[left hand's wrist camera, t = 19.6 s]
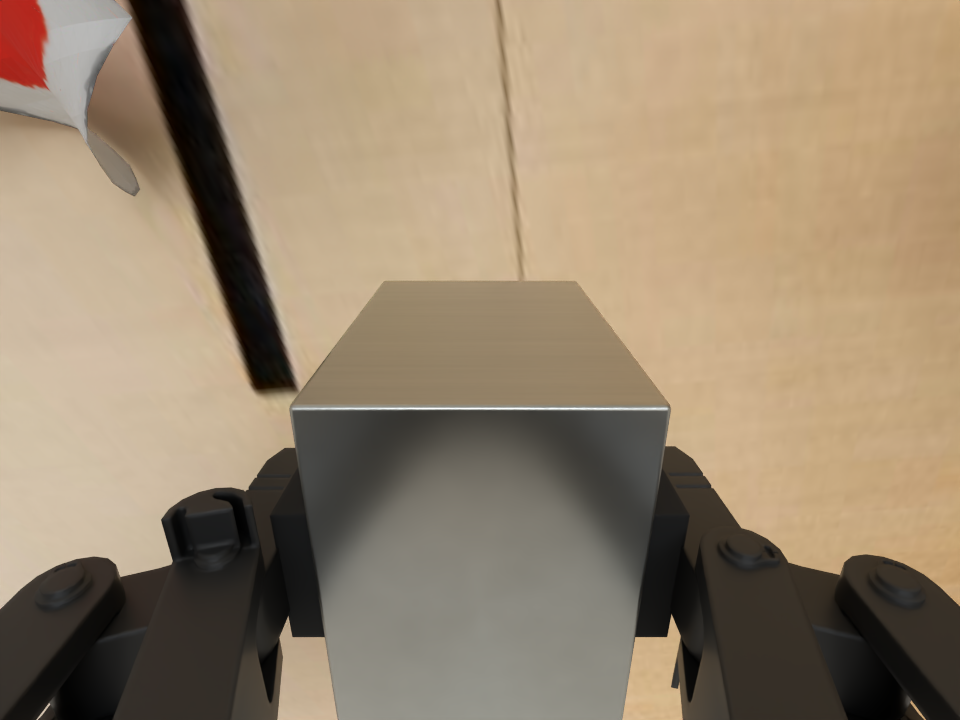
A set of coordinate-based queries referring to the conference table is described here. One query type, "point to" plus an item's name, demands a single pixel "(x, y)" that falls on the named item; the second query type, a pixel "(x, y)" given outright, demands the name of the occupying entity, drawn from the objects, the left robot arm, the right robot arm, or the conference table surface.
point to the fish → (61, 66)
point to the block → (480, 503)
